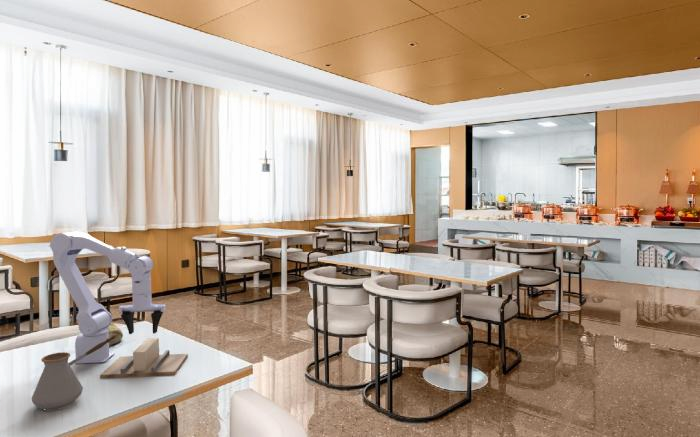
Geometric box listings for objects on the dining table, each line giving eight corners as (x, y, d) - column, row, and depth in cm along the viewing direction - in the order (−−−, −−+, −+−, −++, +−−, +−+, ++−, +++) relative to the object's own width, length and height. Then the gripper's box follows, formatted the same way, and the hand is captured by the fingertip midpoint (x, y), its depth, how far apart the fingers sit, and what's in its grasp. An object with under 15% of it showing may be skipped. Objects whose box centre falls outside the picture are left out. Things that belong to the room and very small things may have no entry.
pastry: (94, 337, 173) (93, 317, 173) (128, 335, 175) (127, 315, 174) (77, 350, 159) (76, 328, 159) (115, 348, 161) (114, 326, 161)
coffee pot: (38, 419, 111) (34, 360, 110) (27, 404, 119) (24, 349, 118) (127, 390, 126) (125, 338, 125) (113, 379, 134) (111, 330, 133)
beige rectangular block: (133, 371, 137) (133, 352, 137) (148, 355, 150) (147, 338, 150) (145, 370, 138) (144, 351, 137) (159, 355, 151) (158, 337, 150)
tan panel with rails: (100, 378, 135) (99, 370, 135) (120, 359, 150) (120, 352, 150) (175, 374, 137) (174, 366, 137) (187, 356, 152) (187, 349, 152)
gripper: (168, 289, 153) (169, 328, 154) (124, 290, 152) (125, 329, 153) (161, 294, 146) (162, 335, 147) (115, 295, 145) (116, 336, 146)
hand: (143, 332), depth 149 cm, fingers open, 7 cm apart
